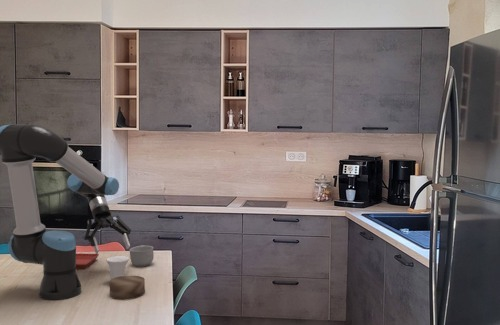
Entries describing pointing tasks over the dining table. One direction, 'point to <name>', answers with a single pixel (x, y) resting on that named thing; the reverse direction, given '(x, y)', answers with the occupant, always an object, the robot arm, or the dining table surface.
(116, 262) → the cup
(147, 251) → the teacup
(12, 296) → the dining table surface
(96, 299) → the dining table surface
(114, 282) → the walnut stand
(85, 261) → the plant saucer
